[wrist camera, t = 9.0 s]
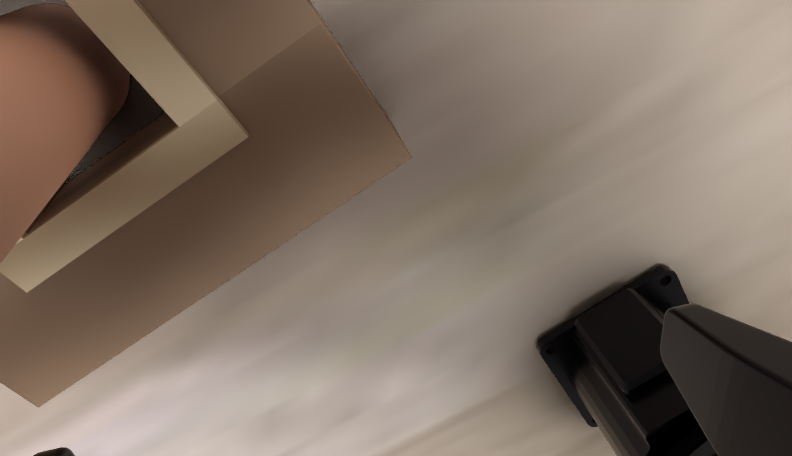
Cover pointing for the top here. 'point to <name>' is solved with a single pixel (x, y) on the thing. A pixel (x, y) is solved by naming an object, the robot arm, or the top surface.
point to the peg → (49, 107)
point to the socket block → (188, 178)
